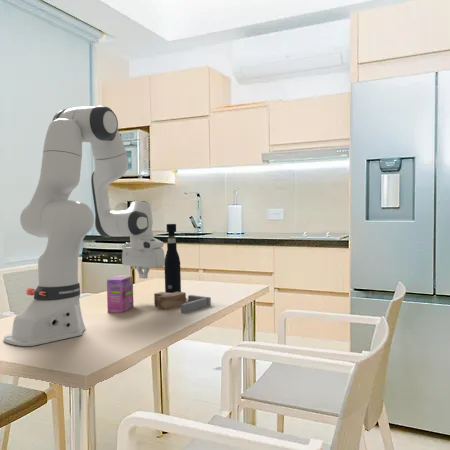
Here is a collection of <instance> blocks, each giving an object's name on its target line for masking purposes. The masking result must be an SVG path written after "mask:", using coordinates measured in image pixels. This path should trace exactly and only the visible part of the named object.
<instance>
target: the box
mask: <svg viewBox="0 0 450 450" xmlns="http://www.w3.org/2000/svg"><path fill="white" fill-rule="evenodd" d="M106 293H107V294H106V297H107V298H106V302H107V305H106V306H107V307H106V308H107V313H113V314H116V313H117V314H122V313H124V312H126V311H128V310H129V309H131V308H133V307H134V305H135V304H134V276H133V275H132V274H131V275H129V274H125V275H122V274H121V275H117V276H113V277H111V278H108V279H106Z"/></svg>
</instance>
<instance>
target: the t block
mask: <svg viewBox="0 0 450 450" xmlns="http://www.w3.org/2000/svg"><path fill="white" fill-rule="evenodd" d="M153 295H154V297H153V299H154V302H153V303H154V306H155V307H157V309H158V310H162V309H163V310H164V311H168V310H171V309H175V308H179V307H181V304H184V303H187V301H186V300H187V299H186V298H187V294H186V292H184V291H181V292H174V293H167V292H165V291H159V292H155V293H154V294H153Z"/></svg>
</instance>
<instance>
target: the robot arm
mask: <svg viewBox="0 0 450 450" xmlns="http://www.w3.org/2000/svg"><path fill="white" fill-rule="evenodd" d="M83 143H90V145H91V150H92V151H91V152H92V155H93V159H94V165H95V166H94V167H95V168H94V171H93V172H92V174H91V178H90V180H91V193H92V198H93V206H94V213H95V214H94V213H93V211H92V209H91V207H90V206H89V205H87V203H84V202H80V201H76V200H72V199H71V200H70V199H69V198H70V195H71V193H72V192H73V191H74V190H75V188H76V187H78V185H79V183H80V180H81V169H82V157H83ZM42 149H43V150H42V159H41V168H40V174H39V178H38V179H39V180H38V183H37V186H36V189H35V191H34V193H33V195H32V198H31V200H30V201H29V203H28V204H27V205H26V206H25V207H24V209H22V211H21V213H20V217H19V219H20V220H19V221H20V225H21V228H22V229H23V230H24V231H25V232H26V233H27V234H29V235H31V236H35V237H38V238H44V239H45V238H46V239H47V243H46V246H45V250H44V251H43V253H42V254H41V255H40V256H39V258H38V261H37V270H38V272H37V274H38V285H37V286H36V289H35V288H30V287H29V288H26V290H25V294H26V295H27V296H33V300H32V301H30V303H28V304H27V305H26V306H25V308H23V309H22V310H21V311H20V312H19V313H18V314H17V315H16V316H15V317H14V319H13V324H12V330H11V333H9V334H5V335H4V336H3V341H4V342H5V343H7V344H10V345H13V346H20V347H21V346H22V347H33V346H37V345H44V344H48V343H51V342H52V343H53V342H56V341H60V340H61V341H62V340H65V339H69V338H74V337H78V336H82V335H83V333H84V331H85V330H86V326H85V322H84V319H83V315H82V311H81V304H80V303H81V302H80V297H81V287H80V286H81V285H80V282H79V254H80V249H81V246H82V243H83V240H84V238H85V237H86V235H88V233H89V232H91V230H92V228H93V227H95V230H96V231H97V233H98V234H99V235H100V236H101V237H103V238H107V239H108V238H115V237H129V241H130V242H125V243H124V244H123V247H122V253H121V263H122V265H123V266H125V267H126V266H127V267H136V271H137V274H138V278H139V279H146V280H147V279H148V278H149V276H148V275H149V274H148V273H149V272H150V269H161V268H164V267H165V256H166V255H165V251H164V249H163V248H164V241H161V240H160V239H157V238H155V237H154V232H153V229H152V228H153V213H152V212H153V211H152V208H151V207H152V206H151V204H150V203H149V202H148V201H144V200H132V201H131V202H130V204H129V207H128V208H126V209H123V210H113V209H111V207H110V198H109V197H110V196H109V189H108V188H109V186H110V185H111V184H112V183H114V182H115V181H116V182H117V180H119V179H121V178H122V177H123V176H124V175H125V174H126V173H127V171H128V168H129V159H128V155H127V151H126V147H125V143H124V141H123V138H122V136H121V133H120V131H119V121H118V117H117V114H116V113H115V112H114V111H113V110H112V109H111V108H110V107H108V106H104V105H96V106H76V107H72V108H65V109H61V110H59V111H58V112H56V113H55V115H54V116H53V118H52V121H51V122H50V123H49V125H48V128H47V130H46V133H45V138H44V144H43V148H42ZM68 199H69V200H68ZM94 215H95V217H94ZM94 225H95V226H94Z"/></svg>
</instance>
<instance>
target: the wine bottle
mask: <svg viewBox="0 0 450 450" xmlns="http://www.w3.org/2000/svg"><path fill="white" fill-rule="evenodd" d="M175 232H176V233H177V224H176V223H166V233H167V234H168V238H167V243H166V249H167V250H166V254H165V255H164V256H165V265H164V292H167V293H174V292H182V283H181V282H182V281H181V280H182V277H181V260H180V255H179V252H178V250H177V249H178V248H177V242H176V238H175V237H176V235H175Z"/></svg>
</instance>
